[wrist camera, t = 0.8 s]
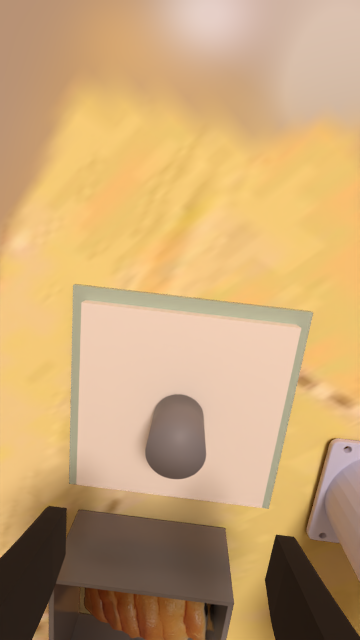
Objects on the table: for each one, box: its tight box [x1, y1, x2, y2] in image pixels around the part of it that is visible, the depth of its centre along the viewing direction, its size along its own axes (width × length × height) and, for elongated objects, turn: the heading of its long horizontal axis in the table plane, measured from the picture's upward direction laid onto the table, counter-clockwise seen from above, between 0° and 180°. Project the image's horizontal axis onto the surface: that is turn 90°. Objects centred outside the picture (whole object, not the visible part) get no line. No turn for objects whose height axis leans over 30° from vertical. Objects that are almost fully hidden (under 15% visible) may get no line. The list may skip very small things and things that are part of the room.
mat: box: [69, 284, 313, 509], centre depth 19 cm, size 14×14×1 cm
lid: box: [76, 300, 301, 508], centre depth 16 cm, size 12×12×4 cm
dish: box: [49, 510, 234, 640], centre depth 20 cm, size 11×11×5 cm
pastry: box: [84, 587, 208, 640], centre depth 21 cm, size 9×7×4 cm
